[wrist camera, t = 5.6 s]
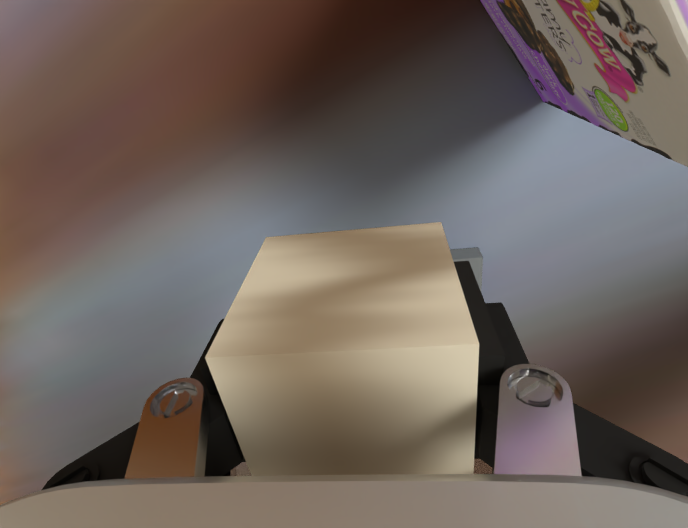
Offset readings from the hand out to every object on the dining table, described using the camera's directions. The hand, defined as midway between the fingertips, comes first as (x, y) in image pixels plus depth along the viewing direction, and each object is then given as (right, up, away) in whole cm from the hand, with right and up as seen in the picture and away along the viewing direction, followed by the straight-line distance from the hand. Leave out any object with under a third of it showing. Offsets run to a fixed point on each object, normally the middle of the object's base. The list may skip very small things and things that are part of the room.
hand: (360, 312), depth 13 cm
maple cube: (0, 0, 0) cm, 1 cm away
